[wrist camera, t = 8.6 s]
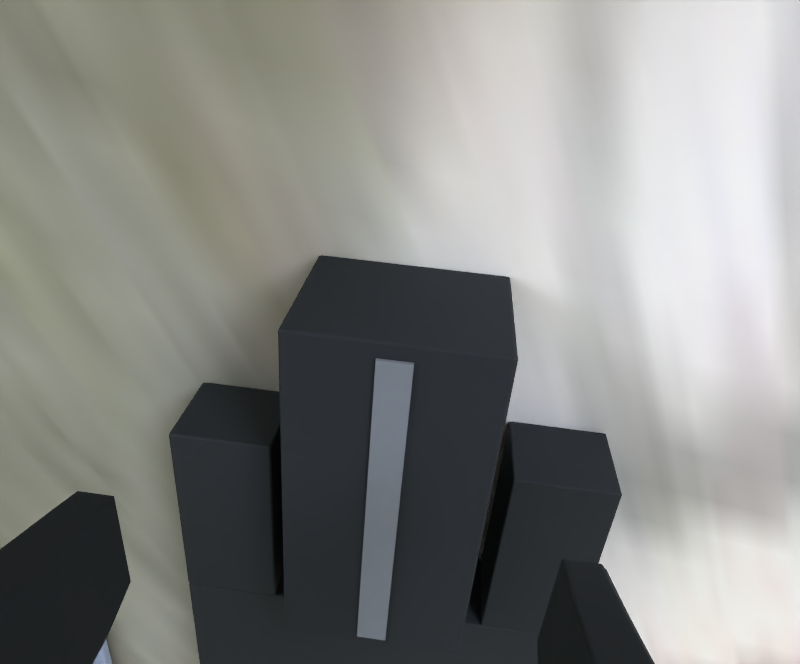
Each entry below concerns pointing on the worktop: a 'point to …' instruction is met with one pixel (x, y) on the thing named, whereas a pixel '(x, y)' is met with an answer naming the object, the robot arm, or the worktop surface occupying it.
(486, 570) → the notch pad
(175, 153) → the worktop surface
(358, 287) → the pad
